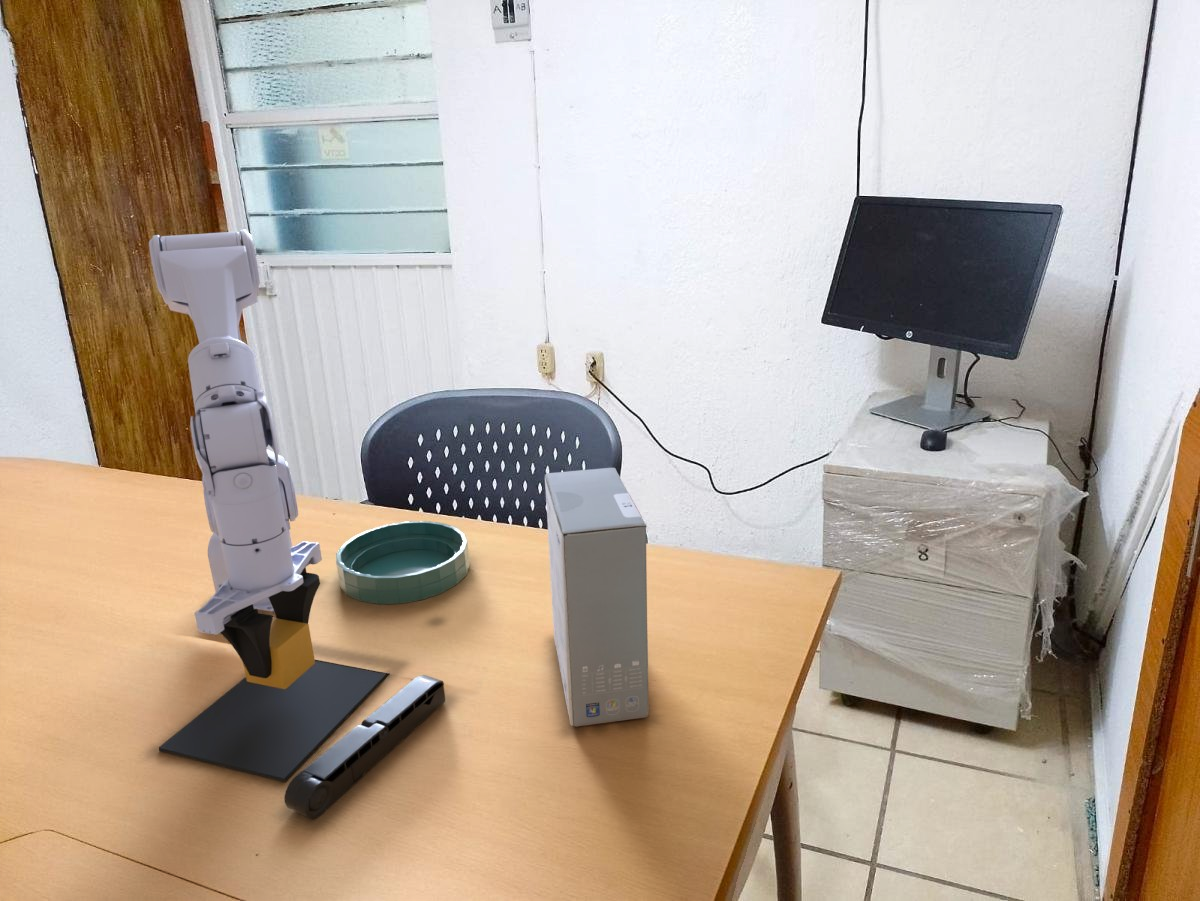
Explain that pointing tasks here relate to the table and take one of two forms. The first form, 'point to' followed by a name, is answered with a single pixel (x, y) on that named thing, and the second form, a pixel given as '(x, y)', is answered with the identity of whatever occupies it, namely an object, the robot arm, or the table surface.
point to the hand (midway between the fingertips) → (278, 660)
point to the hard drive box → (598, 595)
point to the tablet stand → (363, 747)
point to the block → (287, 653)
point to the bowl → (402, 562)
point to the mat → (275, 721)
